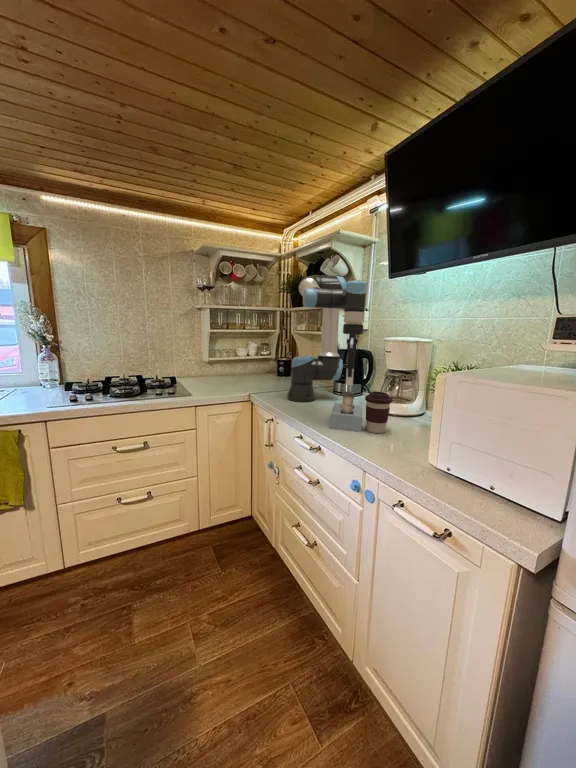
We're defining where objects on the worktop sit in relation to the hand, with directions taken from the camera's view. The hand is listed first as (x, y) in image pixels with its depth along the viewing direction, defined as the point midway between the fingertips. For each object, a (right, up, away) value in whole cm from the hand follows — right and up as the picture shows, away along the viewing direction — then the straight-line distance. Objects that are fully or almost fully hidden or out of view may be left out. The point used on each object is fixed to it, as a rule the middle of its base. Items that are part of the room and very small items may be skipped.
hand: (349, 384), depth 125 cm
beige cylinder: (0, -12, +3) cm, 12 cm away
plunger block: (0, -16, +8) cm, 18 cm away
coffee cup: (+10, -18, 0) cm, 21 cm away
